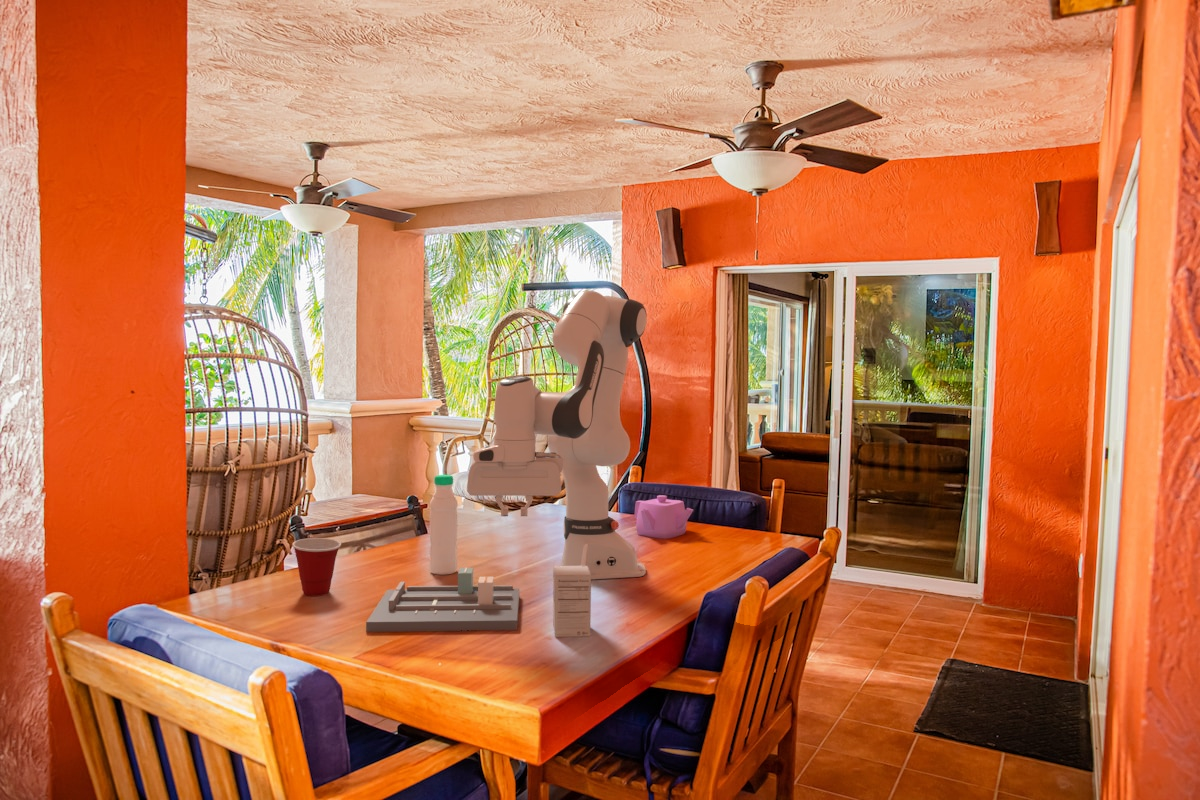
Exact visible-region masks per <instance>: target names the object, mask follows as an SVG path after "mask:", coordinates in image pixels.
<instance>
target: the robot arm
mask: <svg viewBox="0 0 1200 800" xmlns="http://www.w3.org/2000/svg"><path fill="white" fill-rule="evenodd" d="M647 320H648V318H647V310H646V307H645V306H644V304H643V303H642V302H641V301H638V300H634V299H631V298H630V299H626V298H621V297H617V296H612V295H611V296H610V295H605V296H604V295H602V294H601V293H600V292H597V291H594V290H584V291H581V292H579V293H578V294H575V295H572V296H571V297H570V298H569V299H567V300H566V302H565V304H564V306H563V310H562V315H561V316H560V318H559V320H558V322H557V324H556V325H555V327H554V331H553V333H552V344H553V347H554V350H555V351H556V353H557V354H558V356H559V357H560V358H561V359H562V360H564V361H565V362H566V363H568V364H570V365H572V366H575V367H578V371H577V375H576V377H575V380H574V385H573V387H572V388H571V389H569V390H566V391H562V392H560V391H559V392H557V391H542V390H541V389H539V388H537V387H536V386H535V385H534V382H533V378H531V377H529V376H524V375H523V376H519V375H516V376H509V377H506V378H502V379H501V380H499V381H498V384H497V387H496V391H495V397H494V414H493V415H494V418H493V419H494V423H495V433H494V436H493V437H494V438H493V439H494V440H493V441H494V442H493V444H490V445H486V446H484V447H483V446H482V447H480V448H478V449H476V450H474V452H473V454H472V456H473V457H472V458H473V460H474V461H473V463H472V464H471V466H470V468H469V471H468V475H467V483H466V492H467V493H468V494H469V496H471V497H473V496H478V497H480V496H484V497H485V496H488V497H489V496H491V497H493V496H495V502H496V503H497V505H498V506H499V508H500V517H508V516H509V507H508V506H505V505H504V504H503V502H502V501H503V499H504V496H505V497H506V496H510V497H511V496H513V497H514V496H517V497H519V496H525V501H527V502H526V504H525V505H524V506H521V507H520V517H528V509H529V508H530V506H531V504H532V502H533V500H534V499H533V498H534V497H533V496H535V497H536V496H545V497H547V496H551V497H552V496H553V497H554V496H559V495H561V494H560V493H561V492H562V479H561V474H562V478H563V482H564V487H565V488H564V489H565V516H564V520H563V538H564V547H563V552H562V553H563V554H562V556H561V561H560V562H561V563H560V565H559V566H588V568H589V571H590V574H591V580H605V579H606V580H607V579H619V578H620V579H621V578H637V577H639V578H640V577H642V576H645V574H646V573H647V571H646V570H647V569H646V567H645V565H644V563H642V562H639V561H638V557H637V556H638V555H637V551H636V549H635V547H634V546H633V544H632V543H631V542H629V541H628V540H627V539H626V538H624V537H623V536H622V535H621V534H620V533H619V532H617V530H618V528H620V524H619V522H618V521H617V520H615V519H614V518H613V517H610V516H609V498H610V497H609V495H610V493H609V488H608V485H607V483H606V482H605V481H604V480H603V479H602V477H601V476H600V474H599V471H598V466H599V467H611V466H617V465H621V464H622V463H623V462H625V461H626V459H627V457H628V456H629V453H630V450H631V441H630V440H631V439H630V436H629V435H628V433H627V431H626V430H625V428H624V426H623V425H622V420H621V414H620V403H621V402H620V401H621V396H622V390H623V385H624V381H625V376H626V373H627V368H628V367H627V366H628V358H629V357H628V356H629V348H630V347H631V346H632V345H633V343H635V342H637V341H638V340H639V339H640V338H641V337H643V336H642V335H644V332H645V330H646V327H647ZM536 435H542V436H548V437H547V447H548V449H549V451H550V452H544V451H543V452H542V451H541V452H540V451H536Z"/></svg>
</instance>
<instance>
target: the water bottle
mask: <svg viewBox="0 0 1200 800" xmlns="http://www.w3.org/2000/svg"><path fill="white" fill-rule="evenodd" d="M433 479H434V481H433V482H434V487H435V491H434V492H433V495H432V498H431V499H430V501H429V508H430V513H429V542H430V543H429V544H430V545H429V565H428V566H429V572H430V573H431V574H433V575H441V576H442V575H443V576H445V575H451V574H454V573H456V572H457V570H458V558H457V556H458V545H457V541H458V511H457V508H458V500H457V498H456V496H455V494H454V492H453V490H452V487H453V483H454V477H453V475H451V474H439V475H435V476H434V478H433Z"/></svg>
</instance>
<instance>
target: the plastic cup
mask: <svg viewBox="0 0 1200 800" xmlns="http://www.w3.org/2000/svg"><path fill="white" fill-rule="evenodd" d="M291 546H292V547H293V549H294V553H295V557H296V563H297V569H298V574H299V580H300V584H301V590H302V593H303V595H304V596H309V597H319V596H320V597H321V596H324V595H327V594H329V592H330V589H331V584H332V579H333V576H334V571H335V563H336V559H337V556H338V552H339V549H340V548H341V546H342V542H340V541H339V540H336V539H332V538H325V537H310V538H302V539H298V540H295V541H293V542H292V544H291Z"/></svg>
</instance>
